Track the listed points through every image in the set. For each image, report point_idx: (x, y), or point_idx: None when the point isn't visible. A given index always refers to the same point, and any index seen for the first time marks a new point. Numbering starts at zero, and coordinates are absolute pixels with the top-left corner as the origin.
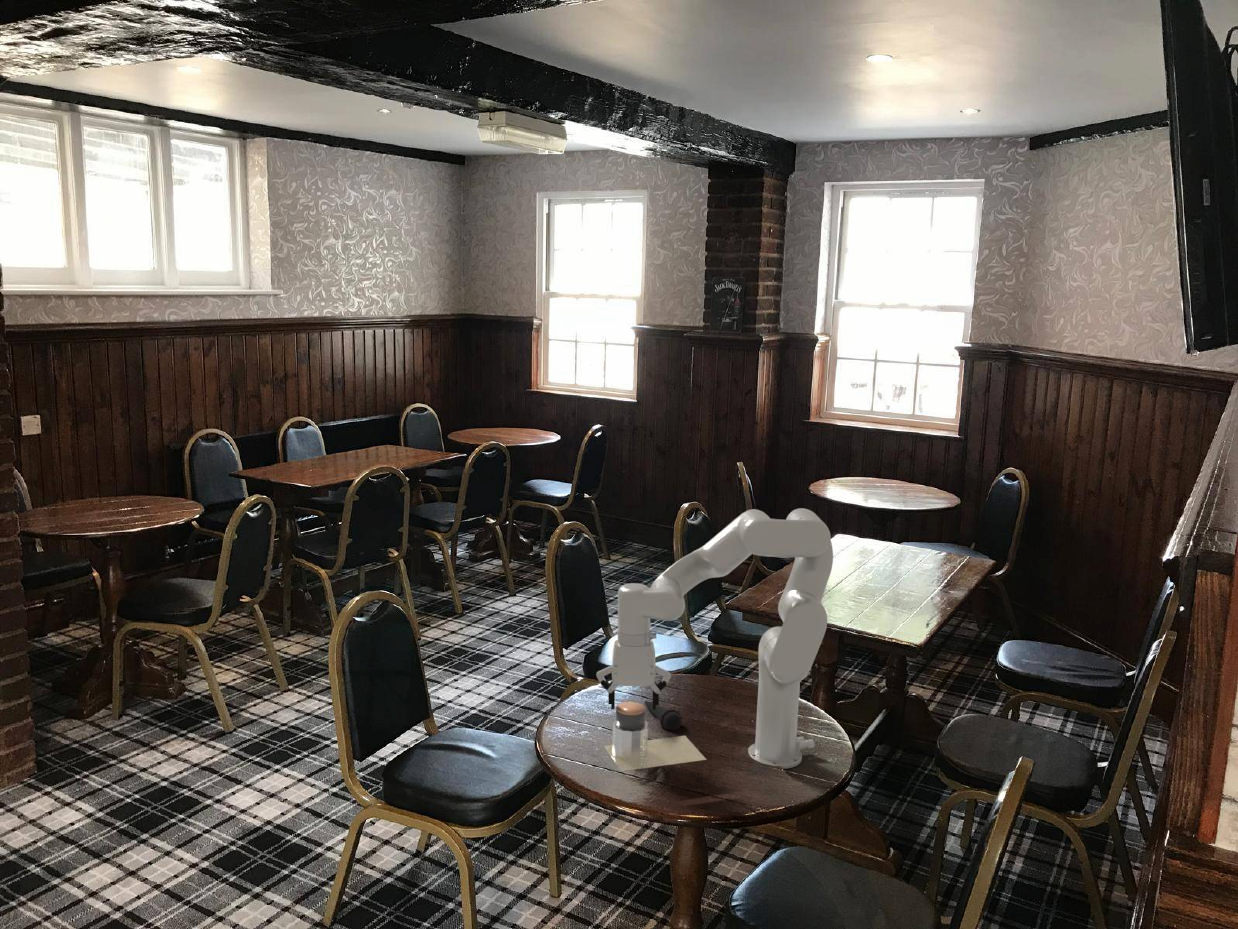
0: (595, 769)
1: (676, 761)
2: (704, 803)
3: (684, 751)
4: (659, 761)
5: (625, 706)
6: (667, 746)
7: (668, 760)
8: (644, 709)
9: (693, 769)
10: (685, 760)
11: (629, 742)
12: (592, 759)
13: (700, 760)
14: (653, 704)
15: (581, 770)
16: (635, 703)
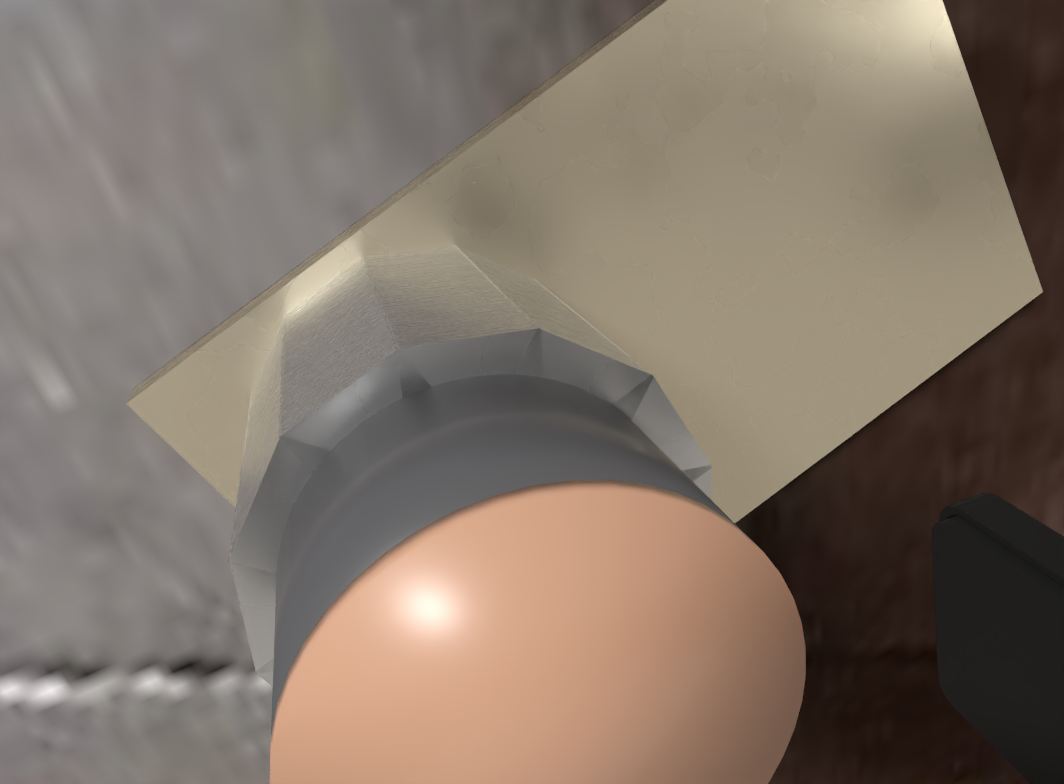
0: (231, 716)
1: (834, 414)
2: (976, 734)
3: (887, 216)
4: (712, 471)
5: (448, 742)
6: (741, 171)
7: (776, 427)
8: (796, 687)
9: (928, 404)
10: (897, 371)
11: None
12: (122, 591)
13: (1000, 322)
14: (1027, 764)
15: (127, 778)
16: (600, 545)
